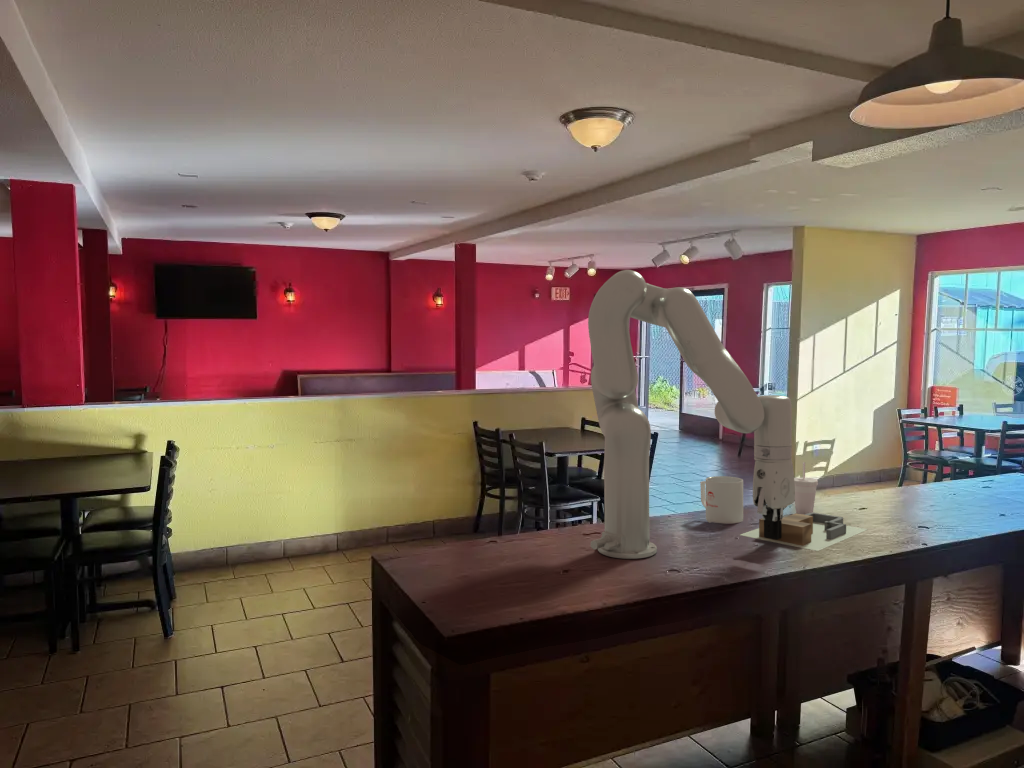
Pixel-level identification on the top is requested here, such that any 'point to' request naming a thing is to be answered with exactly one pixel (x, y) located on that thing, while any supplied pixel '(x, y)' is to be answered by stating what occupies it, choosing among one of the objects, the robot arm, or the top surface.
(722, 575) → the top surface
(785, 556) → the top surface
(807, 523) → the t block
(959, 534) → the top surface
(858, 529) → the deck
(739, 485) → the mug
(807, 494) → the smoothie
